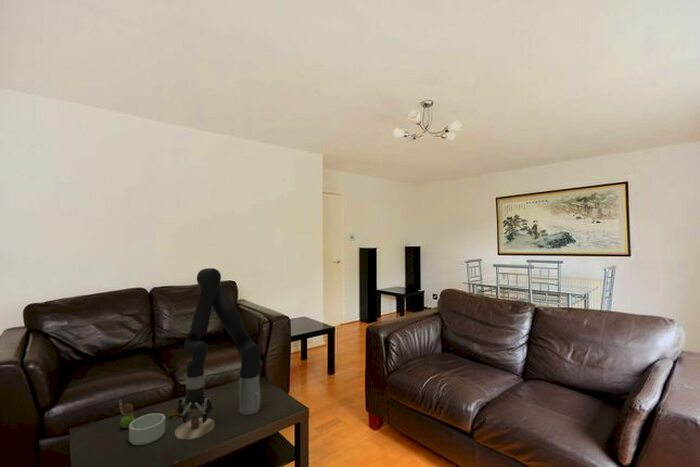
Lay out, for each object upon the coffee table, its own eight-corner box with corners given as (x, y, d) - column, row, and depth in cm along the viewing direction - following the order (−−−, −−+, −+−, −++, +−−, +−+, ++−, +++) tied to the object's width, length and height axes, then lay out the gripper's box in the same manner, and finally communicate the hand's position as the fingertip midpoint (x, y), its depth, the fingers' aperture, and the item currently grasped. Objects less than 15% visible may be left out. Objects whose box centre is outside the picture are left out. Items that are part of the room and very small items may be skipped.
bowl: (170, 427, 147) (170, 413, 147) (154, 445, 134) (154, 429, 134) (141, 428, 146) (141, 413, 147) (121, 446, 133) (122, 430, 134)
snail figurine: (122, 424, 150) (122, 397, 150) (137, 423, 151) (137, 397, 151) (114, 431, 145) (115, 403, 145) (130, 430, 145) (130, 402, 145)
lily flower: (171, 423, 151) (171, 413, 151) (159, 415, 158) (159, 406, 158) (196, 412, 161) (196, 403, 161) (184, 405, 168) (184, 396, 168)
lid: (219, 419, 154) (219, 406, 154) (205, 440, 138) (206, 425, 138) (185, 420, 153) (185, 407, 154) (167, 441, 137) (167, 426, 138)
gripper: (214, 381, 150) (214, 417, 150) (183, 381, 150) (182, 418, 149) (208, 388, 143) (207, 426, 142) (174, 389, 142) (174, 427, 142)
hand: (195, 422), depth 146 cm, fingers open, 7 cm apart
